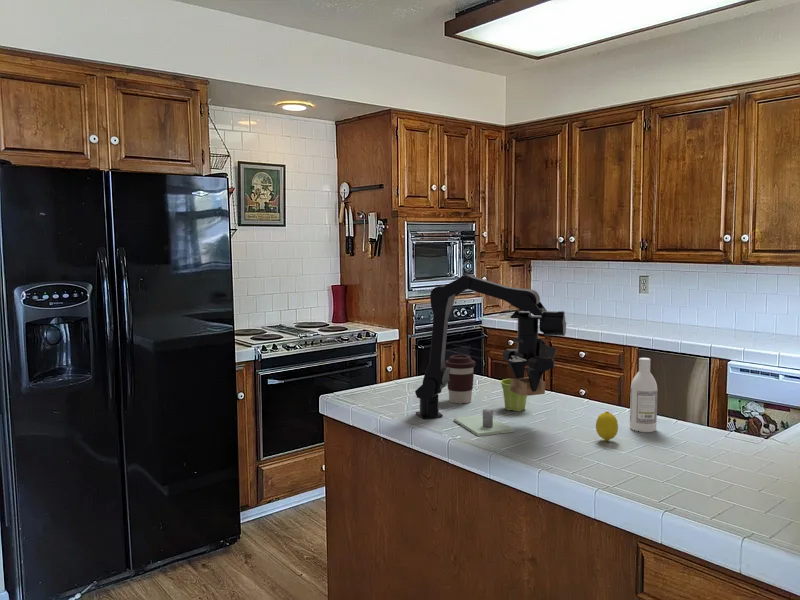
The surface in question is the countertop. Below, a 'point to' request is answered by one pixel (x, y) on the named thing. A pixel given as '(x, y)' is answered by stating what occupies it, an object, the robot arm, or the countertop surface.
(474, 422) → the keeper board
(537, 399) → the countertop surface
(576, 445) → the countertop surface
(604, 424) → the lemon
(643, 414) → the bath foam
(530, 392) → the link
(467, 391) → the coffee cup
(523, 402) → the plant pot
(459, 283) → the robot arm
